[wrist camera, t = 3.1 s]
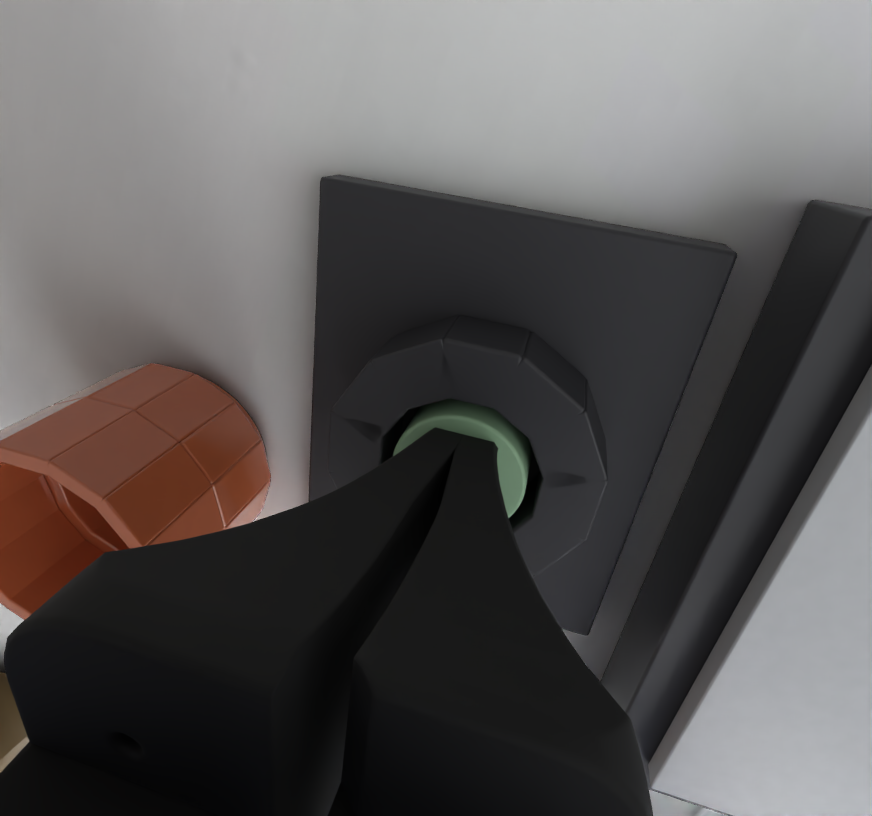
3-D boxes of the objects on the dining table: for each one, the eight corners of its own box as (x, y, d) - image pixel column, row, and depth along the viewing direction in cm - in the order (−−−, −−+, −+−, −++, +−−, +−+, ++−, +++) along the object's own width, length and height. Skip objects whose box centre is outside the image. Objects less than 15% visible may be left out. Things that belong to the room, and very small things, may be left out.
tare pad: (588, 612, 15) (588, 691, 13) (318, 533, 16) (277, 594, 14) (729, 244, 10) (765, 272, 8) (337, 173, 12) (278, 182, 10)
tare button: (518, 506, 13) (510, 548, 12) (405, 475, 13) (384, 513, 12) (545, 401, 12) (540, 436, 10) (420, 372, 12) (398, 401, 11)
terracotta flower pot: (280, 540, 17) (173, 680, 13) (123, 494, 18) (-28, 610, 13) (282, 383, 14) (147, 490, 10) (98, 337, 15) (-98, 418, 11)
